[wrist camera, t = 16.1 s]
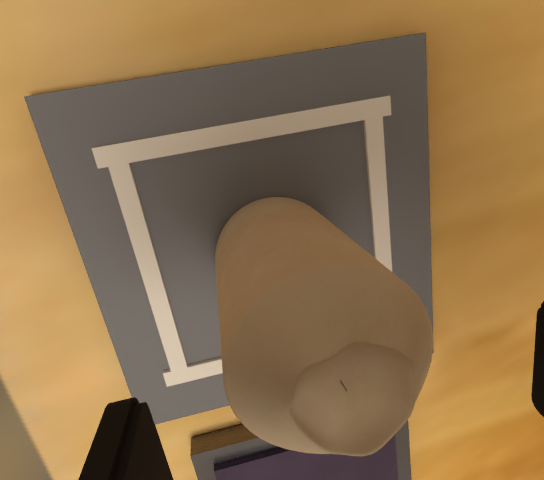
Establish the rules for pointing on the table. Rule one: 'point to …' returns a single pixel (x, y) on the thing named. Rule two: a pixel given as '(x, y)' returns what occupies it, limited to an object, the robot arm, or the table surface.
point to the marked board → (232, 188)
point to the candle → (315, 333)
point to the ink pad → (292, 459)
